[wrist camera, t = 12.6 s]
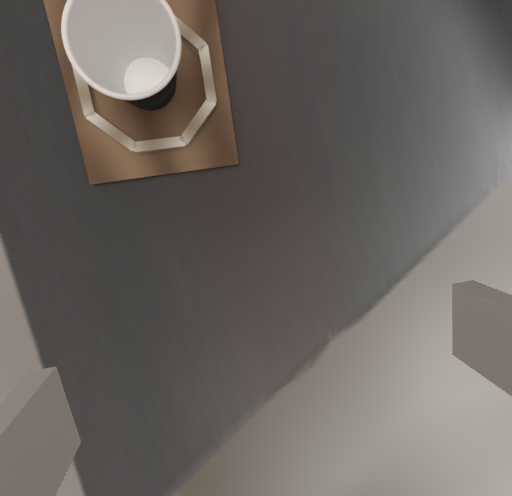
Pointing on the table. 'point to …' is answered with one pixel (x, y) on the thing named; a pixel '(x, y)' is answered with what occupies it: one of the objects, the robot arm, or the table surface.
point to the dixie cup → (124, 48)
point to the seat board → (162, 120)
